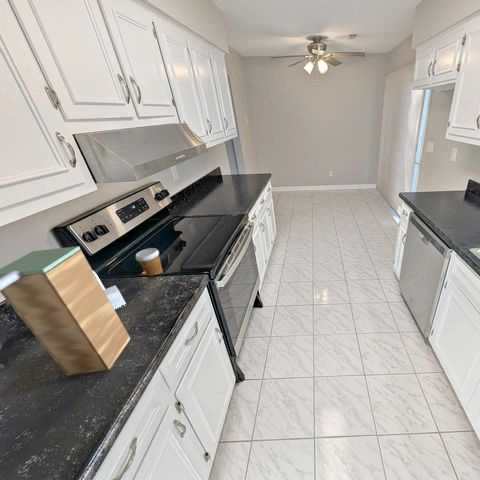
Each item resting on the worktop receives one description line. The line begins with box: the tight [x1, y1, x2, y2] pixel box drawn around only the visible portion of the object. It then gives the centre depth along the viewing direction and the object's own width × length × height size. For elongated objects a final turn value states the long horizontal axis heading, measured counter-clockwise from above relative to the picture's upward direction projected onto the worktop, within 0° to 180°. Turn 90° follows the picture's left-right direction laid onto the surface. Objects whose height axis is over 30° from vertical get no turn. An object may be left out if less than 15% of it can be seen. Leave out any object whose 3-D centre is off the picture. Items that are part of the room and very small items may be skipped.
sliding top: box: [0, 245, 81, 290], centre depth 61 cm, size 12×22×2 cm, turn 7°
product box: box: [104, 285, 127, 311], centre depth 102 cm, size 6×6×7 cm
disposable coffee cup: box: [135, 247, 163, 277], centre depth 121 cm, size 10×10×12 cm
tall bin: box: [0, 249, 131, 377], centre depth 73 cm, size 12×12×35 cm
